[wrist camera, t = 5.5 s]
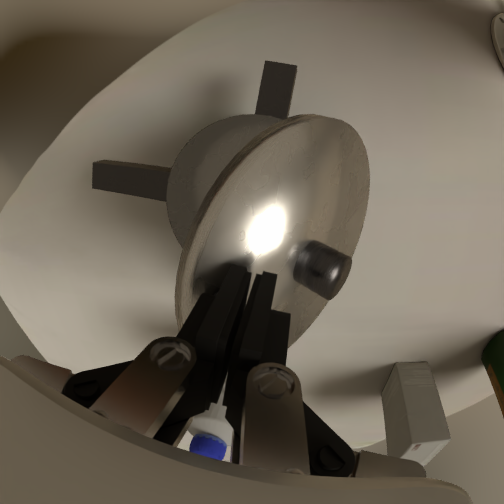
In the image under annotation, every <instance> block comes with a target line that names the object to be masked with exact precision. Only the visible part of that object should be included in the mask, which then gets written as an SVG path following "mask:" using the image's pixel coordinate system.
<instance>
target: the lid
mask: <svg viewBox="0 0 504 504" xmlns="http://www.w3.org/2000/svg"><path fill="white" fill-rule="evenodd" d="M369 188H370V170H369V162H368V156H367V152H366V148H365V146H364V144H363V141H362V139H361V137H360V136H359V134H358V133H357V131H356V130H355V129H354V128H353V127H352V126H351V125H349V124H347V123H346V122H344V121H342V120H338V119H335V118H330V117H326V116H320V115H315V114H301V115H297V116H293V117H289V118H286V119H284V120H282V121H279V122H277V123H275V124H273V125H271V126H270V127H268V128H267V129H265V130H264V131H262V132H261V133H259V134H258V135H256V136H255V137H254V138H253V139H252V140H251V141H250V142H248V143H247V144H246V145H245V146H244V147H243V148H242V149H241V150H240V151H239V152H238V153H237V154H236V155H235V156H234V157H233V159H232V160H231V161H230V162H229V163H228V165H227V166H226V167H225V168H224V169H223V171H222V172H221V173H220V175H219V176H218V178H217V179H216V181H215V182H214V184H213V185H212V187H211V188H210V190H209V191H208V193H207V195H206V196H205V198H204V200H203V202H202V204H201V206H200V208H199V210H198V212H197V214H196V216H195V218H194V220H193V222H192V225H191V227H190V230H189V233H188V235H187V238H186V241H185V244H184V246H183V250H182V254H181V258H180V262H179V267H178V271H177V277H176V287H175V314H176V319H177V324H178V328H179V331H180V329H181V328H182V326H183V324H184V323H185V321H186V319H187V317H188V316H189V314H190V312H191V311H192V309H193V307H194V305H195V304H196V302H197V300H198V299H199V297H200V295H201V294H202V293H207V294H211V295H215V296H216V295H217V293H218V291H219V289H220V287H221V285H222V283H223V281H224V279H225V277H226V275H227V273H228V271H229V269H230V267H231V265H232V264H235V265H240V266H244V267H247V271H248V272H252V276H251V281H250V286H249V291H248V296H247V300H248V297H249V294H250V291H251V288H252V285H253V282H254V279H255V276H256V273H257V274H261V275H262V273H263V271H266V272H270V273H274V274H278V275H277V281H276V286H275V291H274V297H273V302H272V307H271V309H273V310H277V311H282V312H286V313H291V320H290V330H289V340H288V348H289V347H290V346H291V345H292V344H293V343H295V342H296V341H297V340H298V339H299V338H300V337H301V336H302V335H303V333H304V332H305V331H306V330H307V329H308V328H309V327H310V326H311V324H312V323H313V322H314V321H315V319H316V318H317V317H318V316H319V314H320V313H321V311H322V310H323V309H324V307H325V306H326V304H327V303H328V301H329V300H331V299H332V298H334V297H335V296H336V295H337V293H338V292H339V291H340V289H341V288H342V286H343V285H344V283H345V281H346V279H347V277H348V275H349V272H350V269H351V265H352V256H353V254H354V251H355V249H356V246H357V243H358V241H359V238H360V234H361V231H362V228H363V224H364V220H365V216H366V211H367V205H368V199H369ZM246 304H247V302H246ZM227 374H228V373H227Z"/></svg>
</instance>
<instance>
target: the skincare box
mask: <svg viewBox="0 0 504 504" xmlns="http://www.w3.org/2000/svg"><path fill="white" fill-rule="evenodd" d="M381 396H382V404H383V412H384V420H385V430H386V441H387V453H388V454H387V455H388V456H392V457H397V458H403V459H409V460H413V461H416V462H419V463H420V464H421V465H422V466H425V465H426V464H427V463H428V462H429V461H430V460H431V459H432V458H433V457H434V456H435V455H436V454H438V453H439V451H441V449H442V448H443V447H444V446H445V445H446V444H447V443H448V442H449V441H450V440H451V437H450V433H449V429H448V426H447V422H446V418H445V414H444V410H443V407H442V404H441V400H440V397H439V394H438V390H437V387H436V384H435V381H434V378H433V375H432V372H431V369H430V366H429V364H428V362H416V363H395V365H394V368H393V370H392V372H391V375H390V377H389V379H388V381H387V383H386V385H385V388H384V390H383V392H382V394H381Z"/></svg>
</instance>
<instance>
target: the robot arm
mask: <svg viewBox="0 0 504 504" xmlns="http://www.w3.org/2000/svg"><path fill="white" fill-rule="evenodd" d="M491 35H492V40H493V44H494V47H495V50H496V53H497V55H498V58H499V60H500V62H501V64H502V66H503V68H504V13H500V14H498V15H496V16H495V17H494V18H493V20H492V24H491ZM277 275H278V274H274V273H270V272H266V271H263V273H262V275H261V274H257V273H256V276H255V279H254V282H253V285H252V288H251V291H250V294H249V297H248V300H247V296H248V291H249V286H250V281H251V276H252V272H248V271H247V267H244V266H240V265H235V264H232V265H231V267H230V269H229V271H228V273H227V275H226V277H225V279H224V281H223V283H222V285H221V287H220V289H219V291H218V293H217V295H216V296H215V295H211V294H207V293H202V294H201V295H200V297H199V299H198V300H197V302H196V304H195V305H194V307H193V309H192V311H191V312H190V314H189V316H188V317H187V319H186V321H185V323H184V324H183V326H182V328H181V329H180V331H179V333H178V335H177V336H176V337H161V338H158V339H156V340H153V341H152V342H151V343H150V344H148V345H147V346H146V348H145V349H144V350H143V351H142V352H141V353H140V354H139V355H138V356H137V357H136V358H135V359H134V360H131V361H127V362H123V363H119V364H115V365H110V366H106V367H101V368H97V369H92V370H87V371H83V372H80V373H77V374H73V373H72V371H71V370H69V369H66V368H62V367H59V366H56V365H53V364H50V363H47V362H44V361H41V360H38V359H35V358H32V357H30V356H25V355H20V356H17V357H15V358H13V359H12V360H11V361H10V360H8V359H6V358H5V357H3V356H1V355H0V504H473V502H472V500H471V498H470V496H469V495H468V493H467V492H466V491H465V490H464V489H462V488H461V487H459V486H457V485H454V484H452V483H449V482H445V481H442V480H437V479H432V478H426V471H425V469H424V468H423V466H422V465H421V464H420V463H419V462H416V461H413V460H409V459H403V458H397V457H392V456H387V455H382V454H377V453H373V452H369V451H364V450H361V451H360V452H356V451H353V450H352V449H351V448H350V447H349V445H348V444H347V443H346V442H345V441H344V440H342V439H341V438H340V437H339V436H338V435H337V434H336V433H335V432H334V431H333V430H332V429H331V428H330V427H329V426H328V425H327V424H326V423H325V422H324V421H323V420H322V419H321V418H319V417H318V416H317V415H316V414H315V413H314V412H313V411H312V410H311V409H310V408H309V407H308V406H307V405H306V404H305V403H304V402H303V400H302V391H301V384H300V381H299V378H298V376H297V375H296V374H295V372H293V371H292V370H291V369H290V368H288V367H286V358H287V349H288V340H289V330H290V320H291V313H286V312H282V311H277V310H273V309H271V307H272V302H273V297H274V291H275V286H276V281H277ZM246 302H247V304H246ZM227 373H228V374H227ZM226 376H227V380H226V385H225V391H224V397H223V402H222V406H226V407H227V409H226V414H225V419H226V420H227V421H228V423H229V424H230V425H231V427H232V428H233V432H232V443H231V456H230V462H225V461H221V460H217V459H213V458H210V457H206V456H202V455H199V454H196V453H192V452H189V451H186V450H183V449H180V448H177V446H178V444H179V443H180V441H181V439H182V438H183V436H184V435H185V433H186V431H187V430H188V428H189V426H190V425H191V423H192V422H193V419H194V416H196V415H198V414H201V413H204V412H205V410H208V411H209V408H210V405H211V403H215V404H217V403H218V400H219V397H220V394H221V391H222V388H223V385H224V382H225V379H226Z"/></svg>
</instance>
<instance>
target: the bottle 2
mask: <svg viewBox="0 0 504 504" xmlns="http://www.w3.org/2000/svg"><path fill="white" fill-rule="evenodd" d="M481 360H482V362H483V364H484V367H485V369H486V371H487V374H488V376H489V379H490V381H491V384H492V386H493V389H494V391H495V394H496V397H497V399H498V402H499V405H500V408H501V411H502V414H503V417H504V331H502V332H500V333H499V334H498V335H497V336H496V337H494V338H493V339H492V340H491V341H490V343H489V344H488V345H487V347H486V348H485V350H484V352H483V355H482V359H481Z"/></svg>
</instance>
